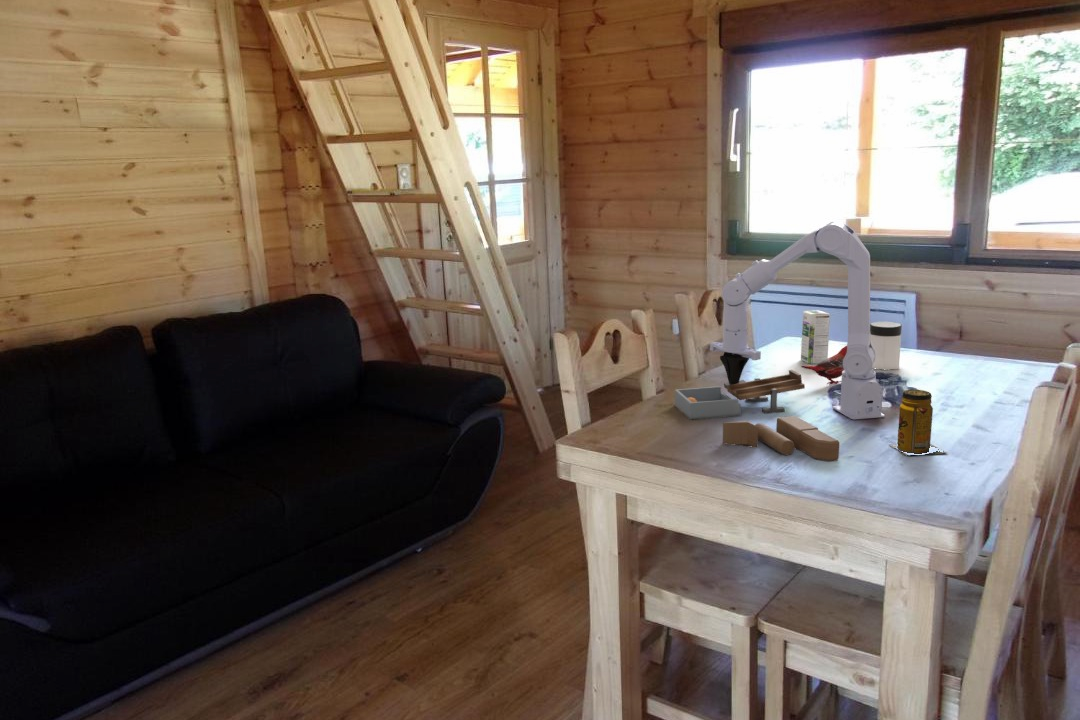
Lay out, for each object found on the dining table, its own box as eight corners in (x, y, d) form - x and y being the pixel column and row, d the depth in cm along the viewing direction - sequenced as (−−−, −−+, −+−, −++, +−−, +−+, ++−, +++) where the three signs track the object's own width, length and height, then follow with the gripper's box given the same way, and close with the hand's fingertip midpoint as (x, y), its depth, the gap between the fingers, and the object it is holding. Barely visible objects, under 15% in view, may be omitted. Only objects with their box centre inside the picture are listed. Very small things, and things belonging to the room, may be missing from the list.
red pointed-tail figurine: (859, 382, 218) (861, 344, 216) (803, 390, 212) (805, 352, 210) (851, 379, 221) (853, 342, 218) (796, 388, 215) (797, 350, 212)
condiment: (888, 445, 171) (892, 388, 168) (927, 442, 172) (932, 386, 169) (907, 457, 164) (911, 398, 161) (948, 454, 165) (953, 395, 162)
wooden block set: (793, 409, 179) (842, 435, 162) (792, 434, 181) (840, 462, 164) (720, 417, 176) (762, 444, 159) (720, 442, 177) (761, 472, 160)
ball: (685, 402, 196) (689, 413, 196) (696, 397, 196) (700, 408, 197) (681, 398, 199) (685, 409, 199) (692, 393, 199) (696, 405, 200)
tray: (740, 415, 194) (740, 399, 193) (690, 419, 192) (690, 403, 191) (722, 401, 205) (722, 386, 204) (674, 405, 204) (674, 389, 203)
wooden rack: (783, 376, 208) (783, 364, 207) (804, 388, 197) (803, 376, 196) (722, 387, 206) (721, 376, 205) (739, 400, 195) (738, 388, 194)
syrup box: (799, 360, 243) (801, 310, 240) (818, 358, 244) (820, 309, 241) (809, 364, 238) (811, 314, 235) (828, 362, 239) (830, 312, 236)
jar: (867, 362, 238) (869, 320, 235) (898, 363, 235) (900, 321, 233) (867, 369, 230) (870, 327, 227) (899, 371, 227) (902, 328, 224)
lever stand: (765, 398, 206) (765, 377, 205) (784, 411, 195) (785, 389, 194) (745, 400, 206) (746, 378, 204) (764, 413, 195) (765, 390, 193)
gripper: (770, 331, 197) (768, 386, 201) (724, 322, 209) (723, 375, 212) (749, 335, 194) (748, 392, 197) (704, 326, 205) (703, 379, 208)
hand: (733, 383), depth 204 cm, fingers closed, pressing on wooden rack
